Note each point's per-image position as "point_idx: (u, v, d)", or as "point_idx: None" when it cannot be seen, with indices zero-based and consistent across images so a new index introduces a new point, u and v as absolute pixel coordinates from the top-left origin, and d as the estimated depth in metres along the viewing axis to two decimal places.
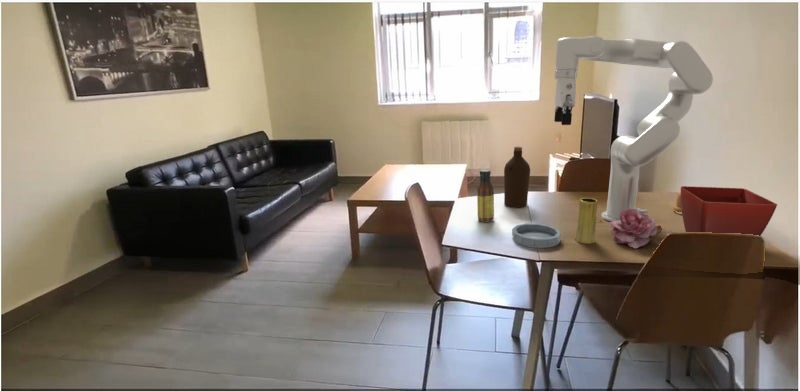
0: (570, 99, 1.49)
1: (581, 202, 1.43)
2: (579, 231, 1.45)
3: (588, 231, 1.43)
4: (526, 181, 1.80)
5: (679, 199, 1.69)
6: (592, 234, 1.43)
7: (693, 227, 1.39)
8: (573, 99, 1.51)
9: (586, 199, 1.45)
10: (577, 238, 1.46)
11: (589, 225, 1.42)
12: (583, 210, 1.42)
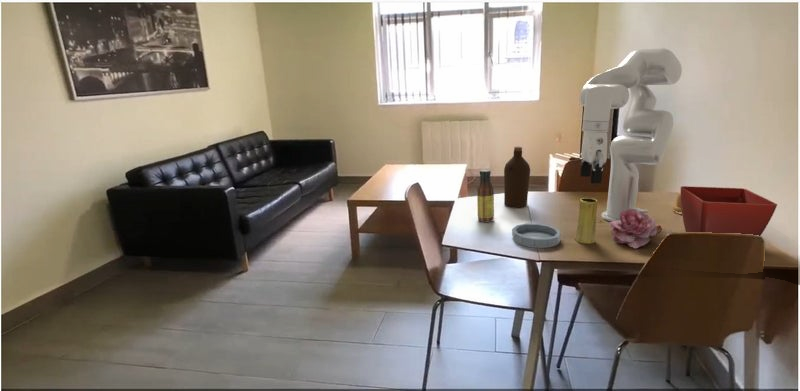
0: (601, 156, 1.31)
1: (581, 202, 1.43)
2: (579, 231, 1.45)
3: (588, 231, 1.43)
4: (526, 181, 1.80)
5: (679, 199, 1.69)
6: (592, 234, 1.43)
7: (693, 227, 1.39)
8: (604, 155, 1.33)
9: (586, 199, 1.45)
10: (577, 238, 1.46)
11: (589, 225, 1.42)
12: (583, 210, 1.42)
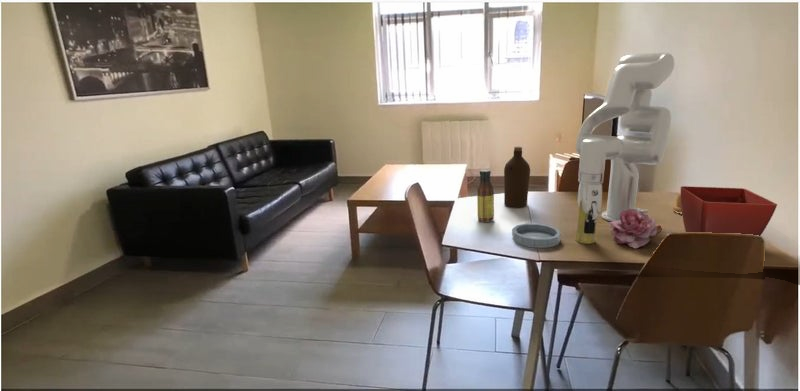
0: (595, 211, 1.37)
1: (581, 202, 1.43)
2: (579, 231, 1.45)
3: None
4: (526, 181, 1.80)
5: (679, 199, 1.69)
6: (592, 234, 1.43)
7: (693, 227, 1.39)
8: (599, 206, 1.38)
9: None
10: (577, 238, 1.46)
11: None
12: None
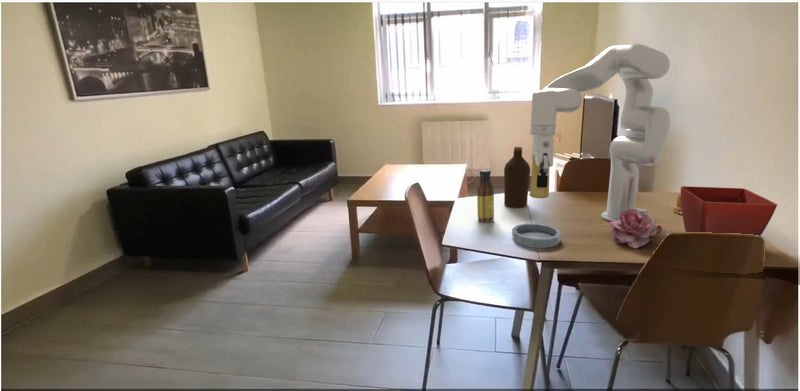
0: (546, 163, 1.35)
1: None
2: (532, 186, 1.43)
3: None
4: (526, 181, 1.80)
5: (679, 199, 1.69)
6: (545, 188, 1.41)
7: (693, 227, 1.39)
8: (550, 158, 1.36)
9: None
10: (531, 193, 1.44)
11: None
12: None
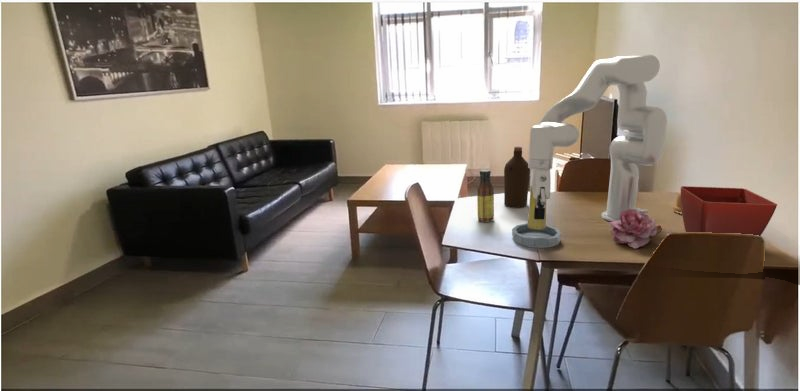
0: (543, 196, 1.38)
1: (531, 188, 1.44)
2: (530, 217, 1.46)
3: None
4: (526, 181, 1.80)
5: (679, 199, 1.69)
6: (542, 220, 1.44)
7: (693, 227, 1.39)
8: (548, 192, 1.39)
9: None
10: (528, 224, 1.47)
11: None
12: None
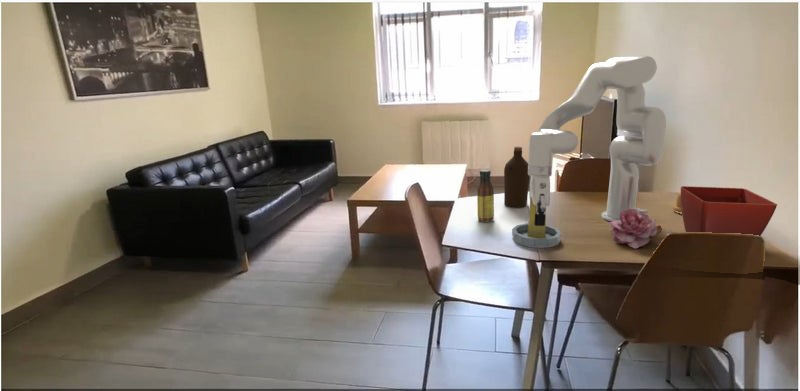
0: (543, 202, 1.38)
1: (531, 199, 1.45)
2: (530, 227, 1.47)
3: (538, 227, 1.45)
4: (526, 181, 1.80)
5: (679, 199, 1.69)
6: (542, 230, 1.46)
7: (693, 227, 1.39)
8: (547, 199, 1.40)
9: None
10: (528, 234, 1.48)
11: None
12: (533, 206, 1.45)
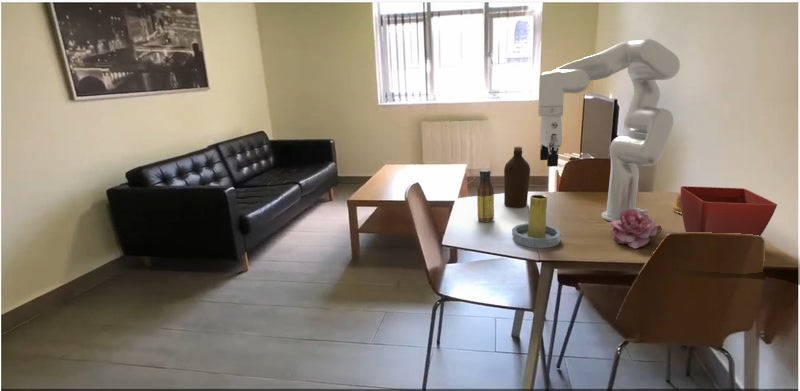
0: (556, 140, 1.36)
1: (531, 199, 1.45)
2: (530, 227, 1.47)
3: (538, 227, 1.45)
4: (526, 181, 1.80)
5: (679, 199, 1.69)
6: (542, 230, 1.46)
7: (693, 227, 1.39)
8: (559, 139, 1.38)
9: (537, 196, 1.47)
10: (528, 234, 1.48)
11: (539, 221, 1.45)
12: (533, 206, 1.45)
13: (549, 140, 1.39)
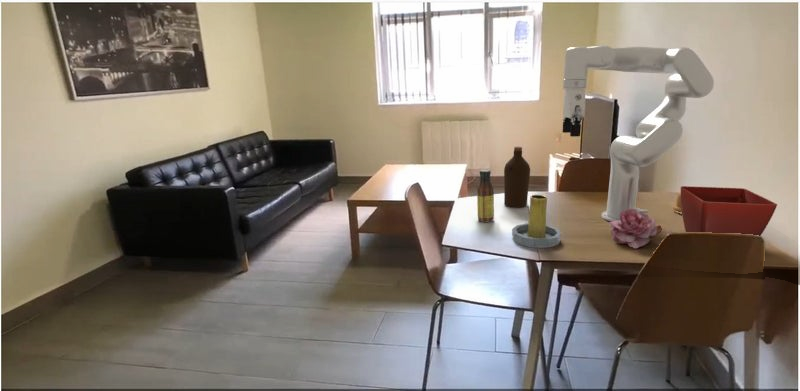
0: (579, 110, 1.45)
1: (531, 199, 1.45)
2: (530, 227, 1.47)
3: (538, 227, 1.45)
4: (526, 181, 1.80)
5: (679, 199, 1.69)
6: (542, 230, 1.46)
7: (693, 227, 1.39)
8: (582, 110, 1.48)
9: (537, 196, 1.47)
10: (528, 234, 1.48)
11: (539, 221, 1.45)
12: (533, 206, 1.45)
13: (573, 111, 1.48)
